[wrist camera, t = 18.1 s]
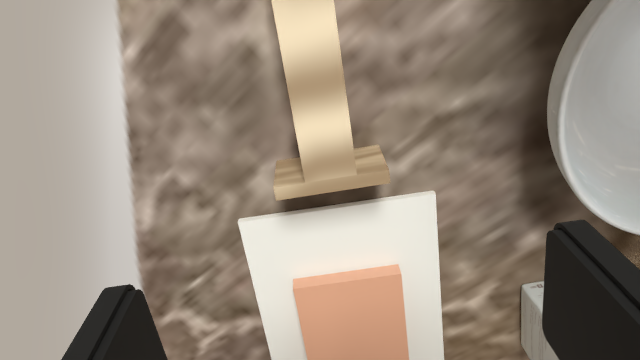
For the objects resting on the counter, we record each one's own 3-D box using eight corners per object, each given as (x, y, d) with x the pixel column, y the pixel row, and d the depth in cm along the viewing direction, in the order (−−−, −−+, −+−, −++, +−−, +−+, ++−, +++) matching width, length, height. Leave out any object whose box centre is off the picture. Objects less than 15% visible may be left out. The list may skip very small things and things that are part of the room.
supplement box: (596, 333, 46) (693, 456, 35) (518, 344, 47) (589, 470, 35) (603, 269, 43) (712, 380, 32) (520, 281, 44) (598, 396, 32)
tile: (292, 289, 40) (311, 378, 44) (401, 273, 40) (409, 364, 44) (293, 277, 42) (310, 364, 46) (397, 262, 42) (406, 351, 46)
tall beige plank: (236, -33, 32) (226, -32, 28) (356, -54, 32) (365, -56, 28) (279, 172, 39) (276, 200, 34) (379, 156, 38) (390, 183, 34)
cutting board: (238, 218, 40) (238, 222, 39) (433, 190, 40) (435, 193, 39) (278, 379, 47) (277, 384, 47) (442, 357, 47) (444, 362, 46)
